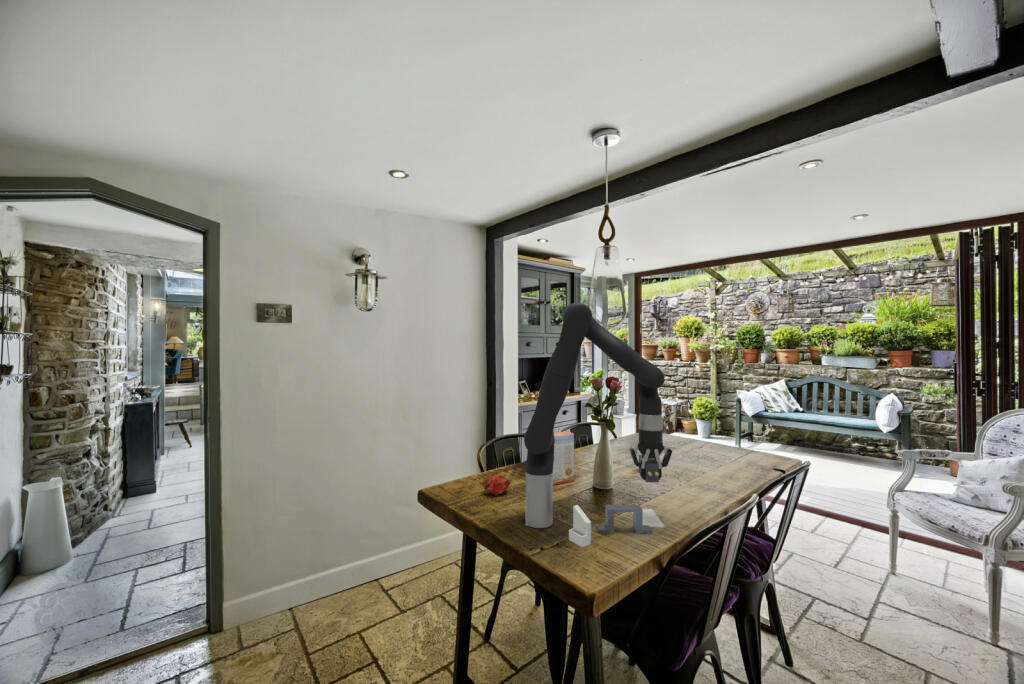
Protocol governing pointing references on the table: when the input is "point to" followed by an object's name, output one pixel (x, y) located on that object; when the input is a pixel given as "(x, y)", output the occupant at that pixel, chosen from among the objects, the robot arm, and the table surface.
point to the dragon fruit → (496, 484)
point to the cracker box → (563, 457)
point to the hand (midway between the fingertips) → (650, 478)
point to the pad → (651, 519)
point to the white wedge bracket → (580, 528)
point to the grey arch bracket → (636, 510)
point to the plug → (651, 470)
